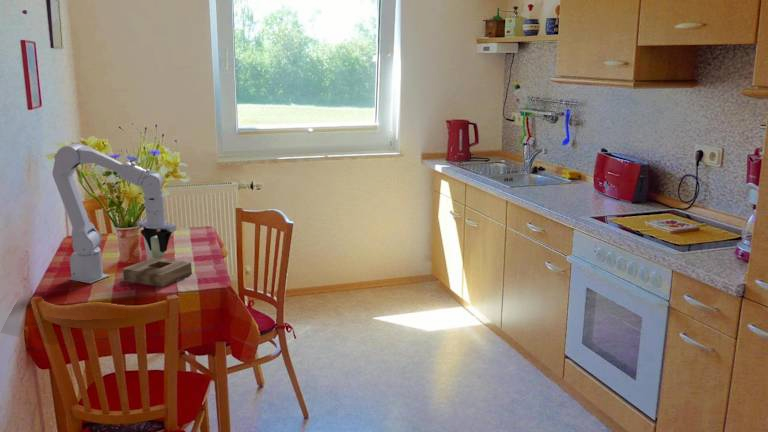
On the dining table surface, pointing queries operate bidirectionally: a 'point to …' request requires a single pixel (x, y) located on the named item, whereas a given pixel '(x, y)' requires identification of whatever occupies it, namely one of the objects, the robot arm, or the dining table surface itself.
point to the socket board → (157, 271)
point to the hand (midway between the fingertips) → (158, 250)
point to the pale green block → (156, 248)
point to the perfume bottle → (148, 251)
